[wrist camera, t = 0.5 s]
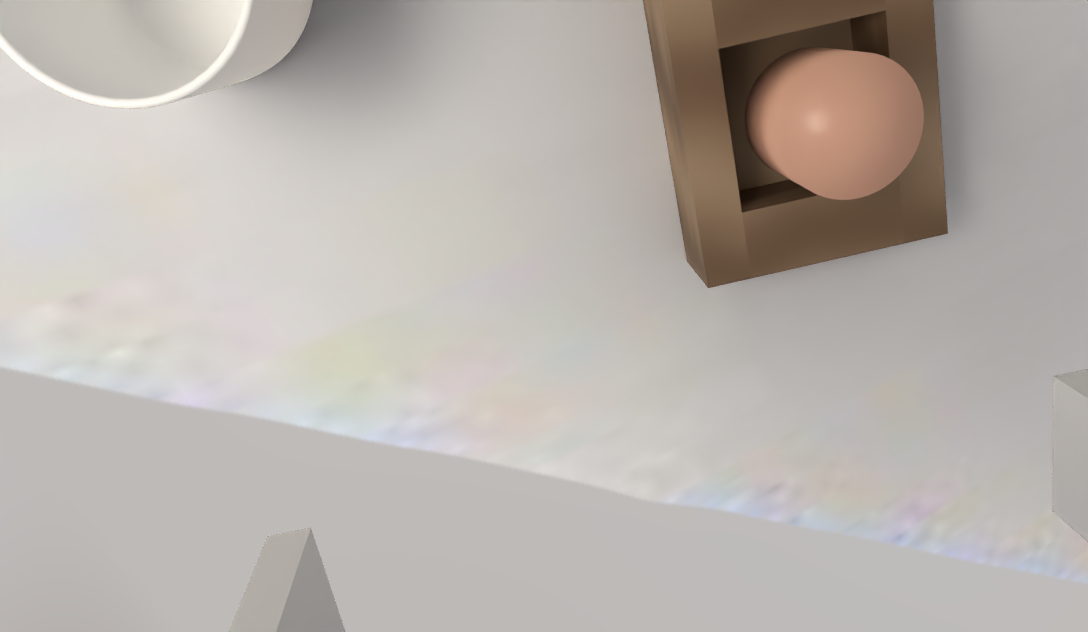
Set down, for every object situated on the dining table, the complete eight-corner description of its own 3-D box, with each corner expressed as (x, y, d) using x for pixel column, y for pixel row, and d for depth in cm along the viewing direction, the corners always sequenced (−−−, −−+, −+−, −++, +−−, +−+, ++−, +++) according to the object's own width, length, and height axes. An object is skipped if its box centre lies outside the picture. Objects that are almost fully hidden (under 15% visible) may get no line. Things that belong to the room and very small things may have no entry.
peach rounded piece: (736, 63, 33) (771, 70, 29) (864, 33, 33) (918, 36, 29) (753, 189, 35) (789, 214, 31) (876, 161, 35) (928, 182, 31)
